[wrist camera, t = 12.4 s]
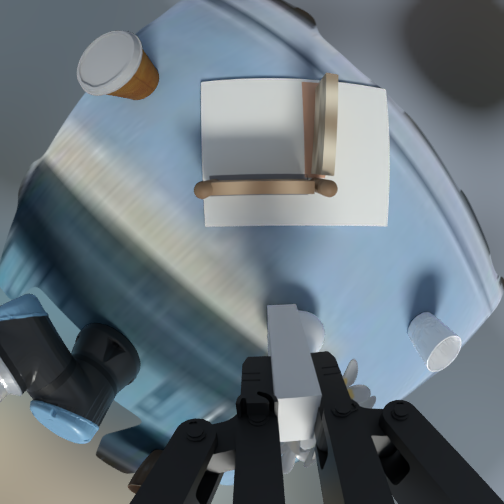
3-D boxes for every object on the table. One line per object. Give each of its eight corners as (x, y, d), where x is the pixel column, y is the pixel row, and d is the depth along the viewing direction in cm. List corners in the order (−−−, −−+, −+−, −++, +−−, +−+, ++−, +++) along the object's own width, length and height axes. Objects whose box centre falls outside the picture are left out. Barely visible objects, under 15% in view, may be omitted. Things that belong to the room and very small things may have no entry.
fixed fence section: (208, 193, 38) (194, 199, 30) (207, 179, 38) (193, 181, 30) (321, 191, 38) (337, 197, 30) (321, 177, 37) (337, 180, 29)
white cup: (415, 348, 46) (436, 377, 37) (398, 330, 45) (420, 361, 35) (441, 321, 44) (466, 347, 35) (426, 301, 43) (453, 327, 34)
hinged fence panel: (321, 174, 37) (334, 176, 30) (311, 173, 37) (321, 174, 30) (325, 89, 33) (338, 74, 26) (315, 88, 33) (326, 72, 26)
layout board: (205, 226, 40) (205, 227, 40) (201, 83, 34) (201, 81, 33) (385, 225, 39) (387, 226, 39) (384, 90, 33) (385, 89, 32)
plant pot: (198, 463, 61) (191, 505, 46) (167, 468, 64) (157, 504, 49) (162, 439, 58) (148, 484, 43) (132, 446, 61) (117, 484, 45)
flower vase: (256, 368, 48) (252, 485, 24) (260, 278, 42) (259, 401, 19) (323, 367, 48) (351, 478, 24) (340, 280, 42) (408, 389, 18)
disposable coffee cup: (109, 78, 33) (68, 59, 22) (156, 47, 32) (126, 15, 20) (126, 120, 36) (84, 108, 24) (178, 88, 34) (148, 62, 23)
